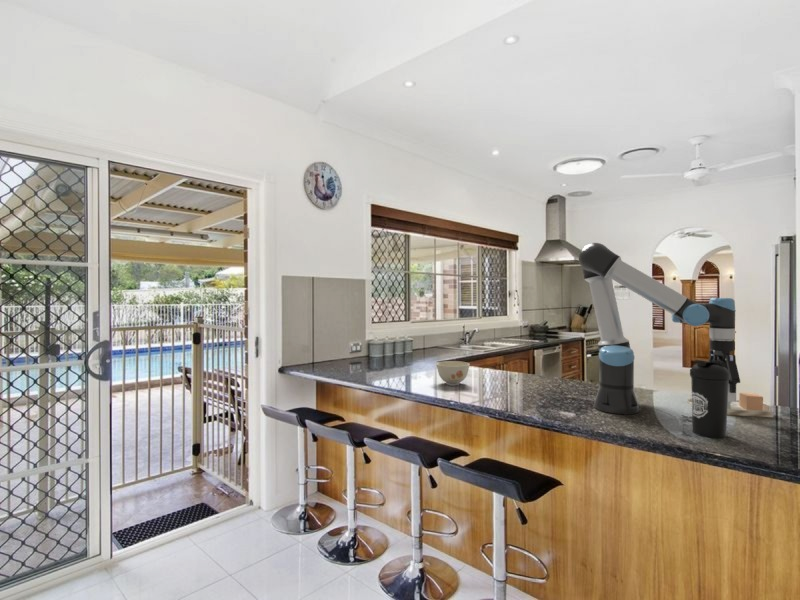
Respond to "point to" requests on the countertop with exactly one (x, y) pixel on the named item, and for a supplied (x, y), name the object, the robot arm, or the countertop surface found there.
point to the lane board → (744, 412)
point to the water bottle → (709, 398)
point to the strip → (765, 409)
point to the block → (751, 401)
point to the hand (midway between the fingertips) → (721, 397)
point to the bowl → (452, 371)
